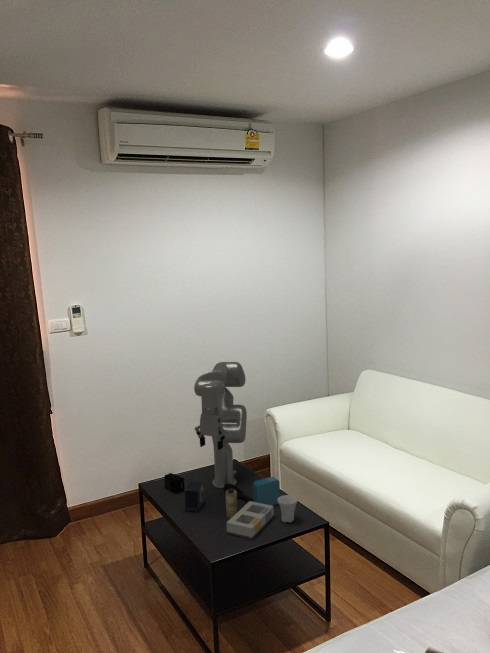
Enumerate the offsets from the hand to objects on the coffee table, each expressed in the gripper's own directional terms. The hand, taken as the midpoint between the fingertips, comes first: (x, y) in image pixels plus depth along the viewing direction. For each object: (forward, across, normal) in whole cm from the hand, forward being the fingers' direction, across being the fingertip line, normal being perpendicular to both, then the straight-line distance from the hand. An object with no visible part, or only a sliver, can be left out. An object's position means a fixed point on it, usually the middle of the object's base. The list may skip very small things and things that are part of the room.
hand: (211, 447), depth 245 cm
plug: (+30, -10, 0) cm, 32 cm away
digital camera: (+30, +31, -9) cm, 44 cm away
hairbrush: (+30, -4, -17) cm, 35 cm away
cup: (+31, -34, -7) cm, 47 cm away
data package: (+30, -19, -16) cm, 39 cm away
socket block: (+30, -22, +4) cm, 38 cm away
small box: (+30, +10, +1) cm, 32 cm away
